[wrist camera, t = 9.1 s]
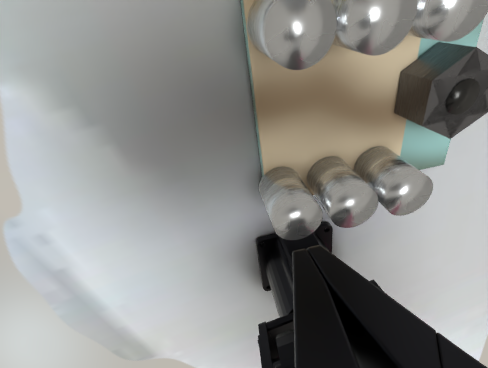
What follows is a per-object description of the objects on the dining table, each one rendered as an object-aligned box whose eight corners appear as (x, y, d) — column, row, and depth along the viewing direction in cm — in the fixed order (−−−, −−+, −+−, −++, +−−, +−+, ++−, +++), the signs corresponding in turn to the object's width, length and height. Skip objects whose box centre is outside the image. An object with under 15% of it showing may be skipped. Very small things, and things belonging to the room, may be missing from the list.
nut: (449, 118, 20) (482, 131, 18) (390, 131, 20) (418, 146, 18) (472, 35, 17) (514, 40, 15) (404, 48, 17) (439, 54, 15)
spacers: (396, 176, 22) (434, 208, 19) (261, 206, 21) (275, 244, 18) (434, -38, 15) (506, -49, 12) (232, -4, 14) (248, -5, 11)
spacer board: (436, 159, 23) (445, 165, 22) (264, 197, 22) (267, 204, 21) (489, -47, 16) (505, -50, 15) (239, -5, 15) (242, -6, 14)
